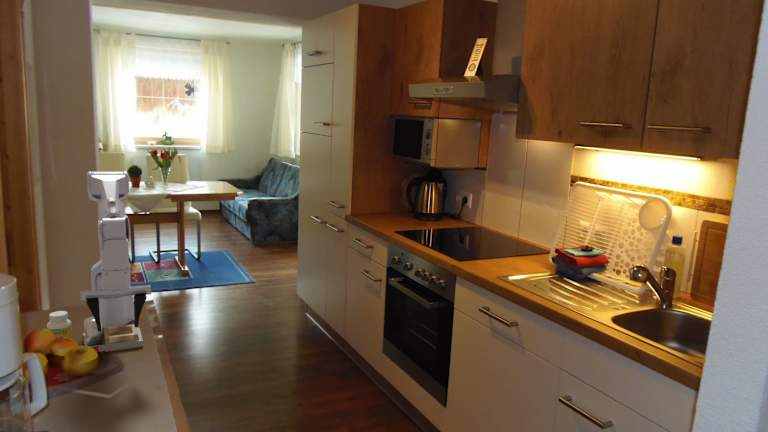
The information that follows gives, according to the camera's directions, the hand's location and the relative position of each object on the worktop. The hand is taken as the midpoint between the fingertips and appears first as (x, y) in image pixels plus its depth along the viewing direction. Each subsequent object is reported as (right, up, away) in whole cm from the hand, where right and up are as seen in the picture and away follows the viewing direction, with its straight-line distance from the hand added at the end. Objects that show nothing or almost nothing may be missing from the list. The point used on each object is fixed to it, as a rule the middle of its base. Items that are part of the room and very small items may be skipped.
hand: (118, 328), depth 129 cm
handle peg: (-12, -7, +13) cm, 20 cm away
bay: (-9, -8, +16) cm, 19 cm away
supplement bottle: (-20, -8, +12) cm, 24 cm away
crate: (-7, -7, +16) cm, 19 cm away
